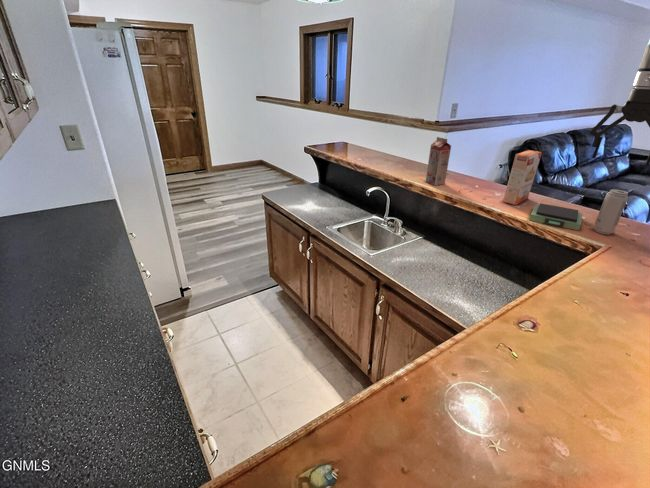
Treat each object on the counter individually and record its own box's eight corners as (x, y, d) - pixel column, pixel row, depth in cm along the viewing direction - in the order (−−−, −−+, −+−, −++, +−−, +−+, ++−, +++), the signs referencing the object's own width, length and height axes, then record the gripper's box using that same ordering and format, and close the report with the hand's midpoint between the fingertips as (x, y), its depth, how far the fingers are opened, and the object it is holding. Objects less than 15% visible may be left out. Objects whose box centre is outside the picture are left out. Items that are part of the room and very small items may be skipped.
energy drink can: (593, 226, 128) (609, 187, 122) (613, 231, 125) (630, 191, 118) (591, 231, 124) (607, 191, 118) (612, 236, 121) (629, 195, 114)
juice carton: (434, 185, 172) (442, 139, 162) (425, 181, 178) (432, 137, 168) (444, 183, 175) (452, 138, 165) (435, 180, 180) (442, 136, 170)
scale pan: (577, 212, 134) (578, 210, 134) (576, 221, 125) (577, 219, 125) (539, 204, 141) (540, 203, 140) (536, 213, 132) (536, 211, 132)
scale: (580, 218, 135) (582, 212, 134) (578, 231, 124) (581, 225, 123) (533, 209, 144) (535, 204, 142) (528, 221, 132) (530, 215, 131)
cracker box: (516, 206, 147) (530, 156, 138) (502, 202, 151) (514, 153, 142) (529, 199, 156) (542, 151, 146) (515, 195, 160) (527, 149, 150)
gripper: (594, 87, 107) (571, 156, 116) (708, 90, 92) (671, 169, 101) (597, 86, 112) (575, 153, 121) (705, 89, 97) (671, 165, 107)
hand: (619, 161), depth 111 cm, fingers open, 13 cm apart
